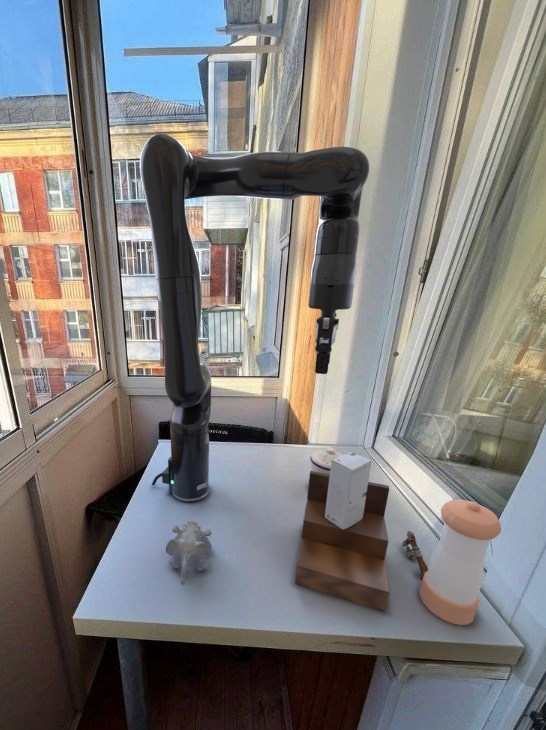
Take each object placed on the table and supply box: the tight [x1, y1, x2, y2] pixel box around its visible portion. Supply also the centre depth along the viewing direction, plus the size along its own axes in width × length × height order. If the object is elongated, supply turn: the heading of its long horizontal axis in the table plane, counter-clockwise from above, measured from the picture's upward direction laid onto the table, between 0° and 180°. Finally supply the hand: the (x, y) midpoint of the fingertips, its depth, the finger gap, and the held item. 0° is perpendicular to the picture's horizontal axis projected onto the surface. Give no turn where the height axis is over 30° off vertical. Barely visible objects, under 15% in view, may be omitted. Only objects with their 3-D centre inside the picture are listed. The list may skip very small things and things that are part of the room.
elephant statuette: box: [165, 520, 213, 586], centre depth 60 cm, size 9×12×8 cm
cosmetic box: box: [325, 452, 372, 529], centre depth 60 cm, size 6×4×12 cm
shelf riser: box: [294, 470, 391, 612], centre depth 60 cm, size 14×15×14 cm
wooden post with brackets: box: [401, 530, 429, 579], centre depth 62 cm, size 2×8×4 cm, turn 177°
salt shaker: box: [419, 499, 502, 626], centre depth 51 cm, size 7×7×19 cm
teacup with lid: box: [307, 447, 343, 486], centre depth 82 cm, size 12×9×12 cm
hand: (322, 368), depth 65 cm, fingers open, 8 cm apart
